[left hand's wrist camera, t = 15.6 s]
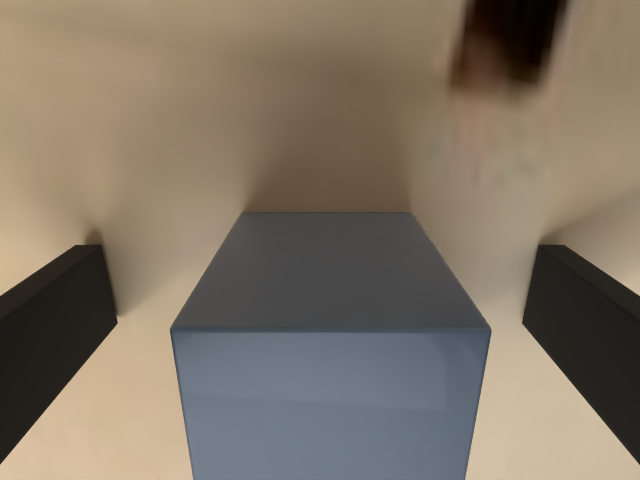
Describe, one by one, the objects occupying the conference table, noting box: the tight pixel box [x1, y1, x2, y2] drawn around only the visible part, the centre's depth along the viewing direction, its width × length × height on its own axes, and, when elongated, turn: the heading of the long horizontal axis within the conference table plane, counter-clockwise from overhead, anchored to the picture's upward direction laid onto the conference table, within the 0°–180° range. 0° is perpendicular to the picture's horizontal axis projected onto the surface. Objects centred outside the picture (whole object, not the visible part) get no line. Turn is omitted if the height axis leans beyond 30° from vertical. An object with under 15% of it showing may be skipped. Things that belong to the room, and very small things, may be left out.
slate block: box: [170, 213, 491, 480], centre depth 10 cm, size 5×5×6 cm
